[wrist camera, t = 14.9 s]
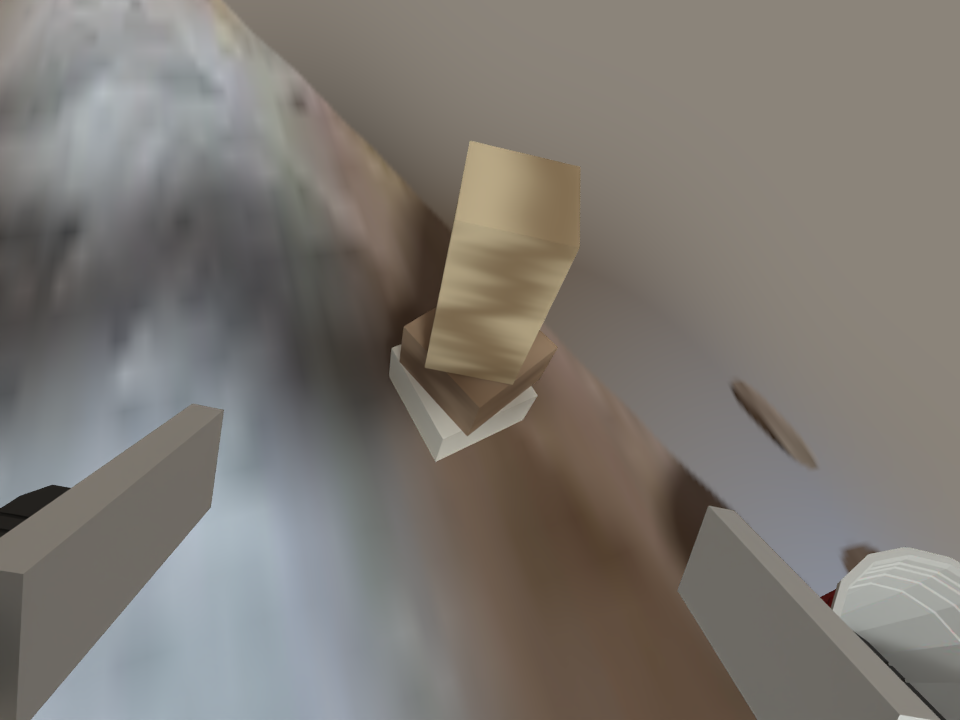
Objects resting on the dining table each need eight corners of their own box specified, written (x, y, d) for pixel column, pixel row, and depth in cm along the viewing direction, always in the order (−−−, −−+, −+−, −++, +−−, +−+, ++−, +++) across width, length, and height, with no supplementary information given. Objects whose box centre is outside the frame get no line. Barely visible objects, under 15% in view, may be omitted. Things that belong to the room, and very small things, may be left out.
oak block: (424, 367, 30) (454, 219, 21) (438, 298, 33) (469, 140, 24) (512, 384, 31) (579, 247, 21) (518, 314, 33) (580, 167, 24)
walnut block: (399, 361, 35) (403, 326, 31) (473, 313, 38) (484, 276, 34) (467, 436, 33) (479, 407, 30) (539, 379, 36) (557, 347, 33)
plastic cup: (679, 582, 35) (810, 538, 25) (829, 589, 36) (1011, 550, 26) (715, 799, 29) (904, 858, 19) (891, 796, 31) (1152, 849, 21)
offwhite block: (388, 377, 38) (391, 347, 35) (473, 344, 41) (483, 313, 38) (434, 462, 36) (442, 439, 33) (522, 421, 39) (537, 395, 35)
